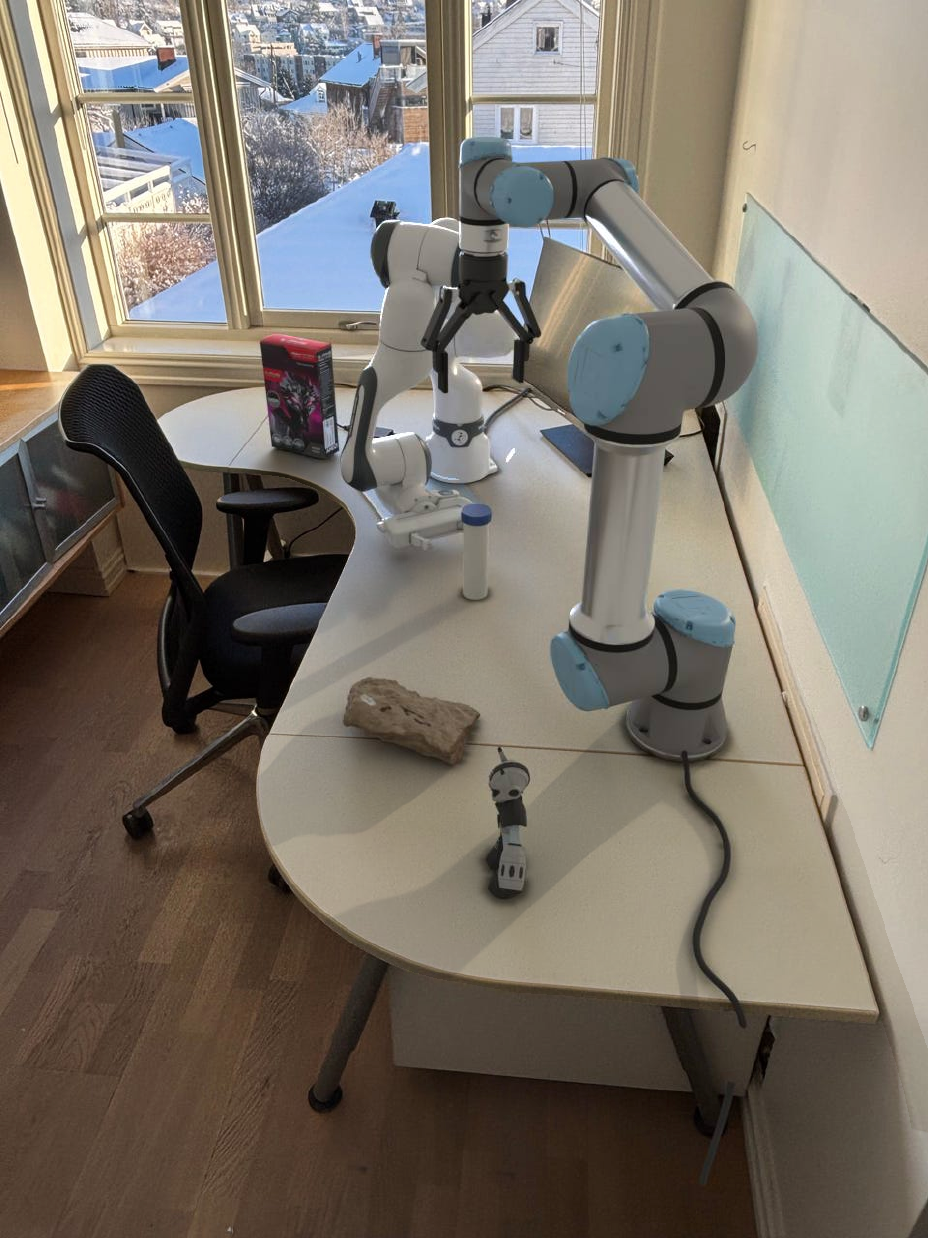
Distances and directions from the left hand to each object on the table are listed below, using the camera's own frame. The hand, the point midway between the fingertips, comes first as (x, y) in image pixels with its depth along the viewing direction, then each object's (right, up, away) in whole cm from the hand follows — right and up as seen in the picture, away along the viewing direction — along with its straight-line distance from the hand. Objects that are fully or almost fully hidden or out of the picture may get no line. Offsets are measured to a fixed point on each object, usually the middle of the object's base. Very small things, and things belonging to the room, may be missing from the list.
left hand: (451, 540), depth 179 cm
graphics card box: (-37, +27, +52) cm, 70 cm away
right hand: (+5, +24, -26) cm, 35 cm away
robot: (+8, -48, -60) cm, 77 cm away
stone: (-6, -33, -37) cm, 49 cm away
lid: (+5, +4, -13) cm, 14 cm away
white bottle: (+5, -10, -3) cm, 12 cm away
